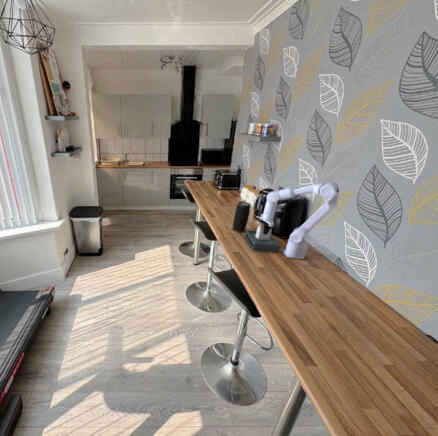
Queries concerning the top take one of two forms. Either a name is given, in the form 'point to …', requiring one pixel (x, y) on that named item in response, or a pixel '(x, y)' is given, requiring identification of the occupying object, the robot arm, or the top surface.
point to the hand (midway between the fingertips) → (263, 232)
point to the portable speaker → (241, 216)
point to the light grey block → (260, 233)
